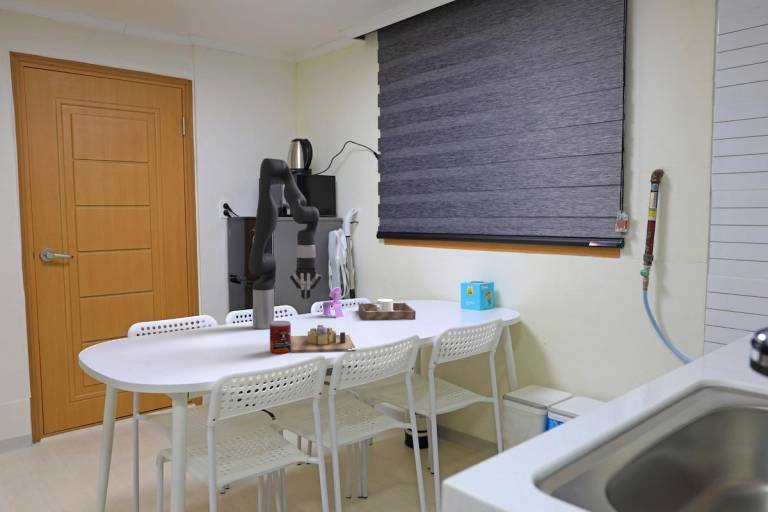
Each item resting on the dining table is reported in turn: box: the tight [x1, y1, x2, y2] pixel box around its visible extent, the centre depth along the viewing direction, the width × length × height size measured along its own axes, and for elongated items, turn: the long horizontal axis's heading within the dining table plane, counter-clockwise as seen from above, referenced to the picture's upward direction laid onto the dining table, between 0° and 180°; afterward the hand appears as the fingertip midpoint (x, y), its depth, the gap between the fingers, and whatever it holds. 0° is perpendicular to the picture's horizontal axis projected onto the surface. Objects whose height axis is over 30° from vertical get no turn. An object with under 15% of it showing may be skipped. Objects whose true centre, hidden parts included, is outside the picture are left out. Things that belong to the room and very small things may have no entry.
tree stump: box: [373, 298, 394, 312], centre depth 293 cm, size 20×19×8 cm
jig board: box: [290, 326, 356, 354], centre depth 228 cm, size 24×24×6 cm
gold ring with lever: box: [307, 324, 337, 345], centre depth 231 cm, size 11×18×5 cm, turn 9°
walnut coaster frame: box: [358, 302, 417, 321], centre depth 294 cm, size 25×26×4 cm
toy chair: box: [322, 286, 344, 319], centre depth 288 cm, size 8×9×15 cm
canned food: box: [269, 320, 292, 355], centre depth 215 cm, size 8×8×11 cm
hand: (305, 298), depth 234 cm, fingers closed
